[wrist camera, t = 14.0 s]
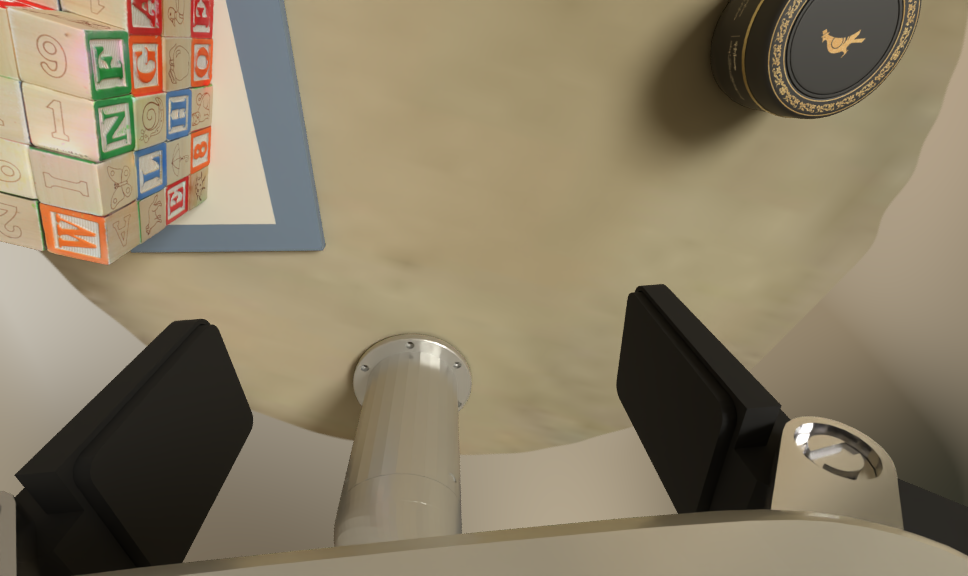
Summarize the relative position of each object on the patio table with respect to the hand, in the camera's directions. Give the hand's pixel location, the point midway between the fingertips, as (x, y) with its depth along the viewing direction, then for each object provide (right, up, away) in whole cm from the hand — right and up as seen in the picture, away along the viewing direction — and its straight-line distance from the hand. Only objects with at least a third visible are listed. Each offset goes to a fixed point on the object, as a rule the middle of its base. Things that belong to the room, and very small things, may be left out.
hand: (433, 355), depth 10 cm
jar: (+23, +21, +24) cm, 39 cm away
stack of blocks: (-21, +18, +20) cm, 34 cm away
